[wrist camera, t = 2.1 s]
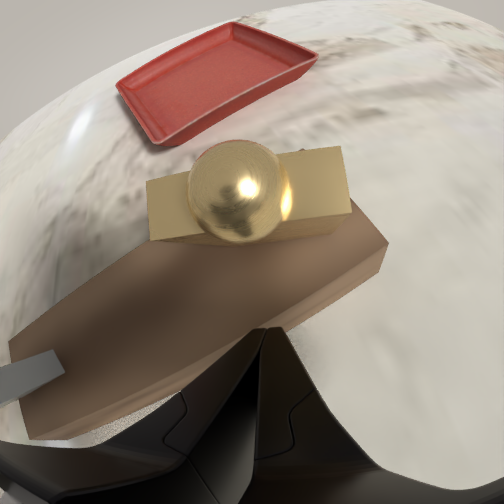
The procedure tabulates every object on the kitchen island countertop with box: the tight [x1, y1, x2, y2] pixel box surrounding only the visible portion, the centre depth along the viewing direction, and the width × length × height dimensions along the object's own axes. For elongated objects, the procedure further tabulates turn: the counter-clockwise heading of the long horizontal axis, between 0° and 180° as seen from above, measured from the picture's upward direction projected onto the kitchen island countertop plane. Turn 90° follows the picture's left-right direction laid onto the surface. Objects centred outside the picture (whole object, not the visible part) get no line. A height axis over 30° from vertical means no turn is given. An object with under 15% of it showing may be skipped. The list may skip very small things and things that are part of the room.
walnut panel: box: [8, 149, 389, 440], centre depth 18 cm, size 8×26×4 cm, turn 118°
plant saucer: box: [115, 22, 319, 146], centre depth 30 cm, size 18×18×3 cm
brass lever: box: [146, 140, 352, 247], centre depth 11 cm, size 2×5×10 cm, turn 91°
